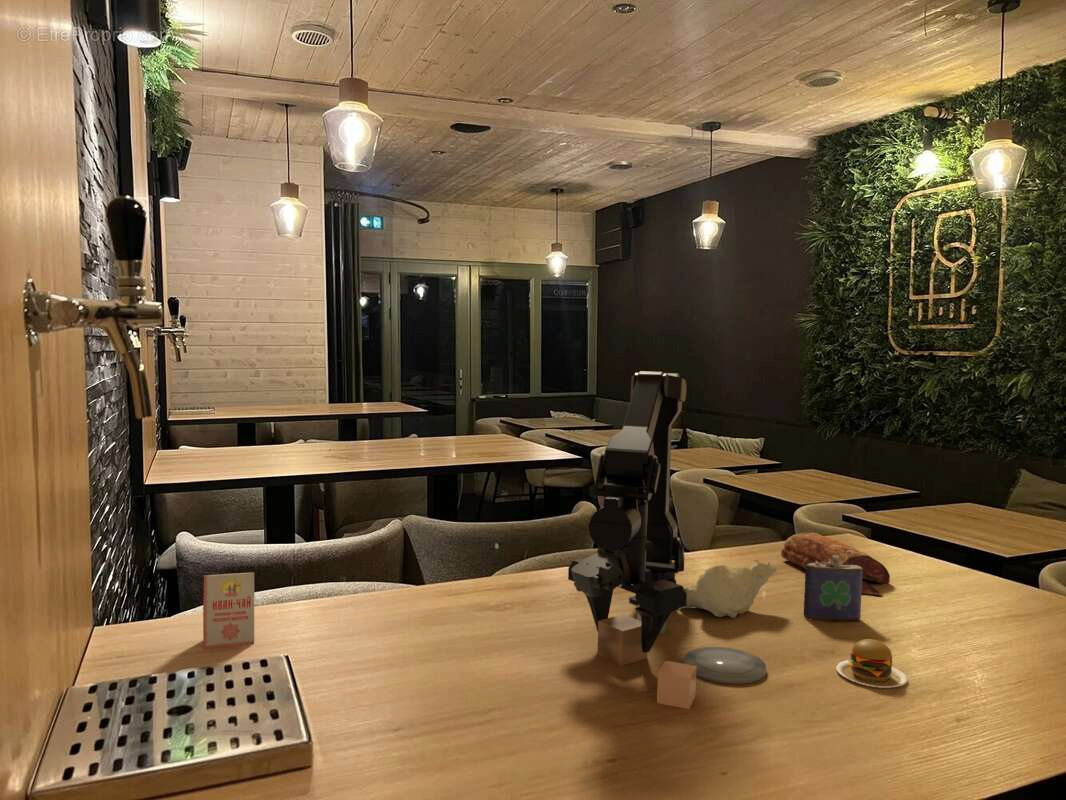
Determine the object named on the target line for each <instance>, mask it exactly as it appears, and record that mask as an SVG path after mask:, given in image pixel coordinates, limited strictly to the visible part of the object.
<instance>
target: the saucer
mask: <svg viewBox="0 0 1066 800" xmlns="http://www.w3.org/2000/svg"><path fill="white" fill-rule="evenodd" d="M683 659H684V660H683V662H684V663H683V664H688V665H693V666H697V670H696V678H697V677H698V678H699V679H703V680H705V681H709V682H712V683H717V684H725V685H749V684H753V683H757V682H760V681H761V680H763V679H764V678H765V677H766V675H767V665H766V663H765V661H764V660H762V659H761V658H760V657H758V656H757V655H756V654H755V655H754V654H753V653H750V652H747V651H744V650H741V649H737V648H732V647H725V646H724V647H722V646H703V647H697V648H694V649H691V650H689V651H687V653H686V654H685V655H684V658H683Z"/></svg>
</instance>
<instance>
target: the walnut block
mask: <svg viewBox="0 0 1066 800" xmlns="http://www.w3.org/2000/svg"><path fill="white" fill-rule="evenodd" d="M596 652H597V653H596V654H597V655H598V656H600V657H602V658H604V659H606V660H608V661H611V662H612V663H615V664H617V665H618V666H621V667H622V666H623V667H624V666H625V665H629V664H633V663H636V662H639V661H642V660H646V659H648V652H647V653H643V652H642V643H641V621H639V620H637V618H634V617H633V616H629V615H627V614H619V615H614V616H611V617H608V618H607V619H603V620H599V621H598V631H597V651H596Z"/></svg>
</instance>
